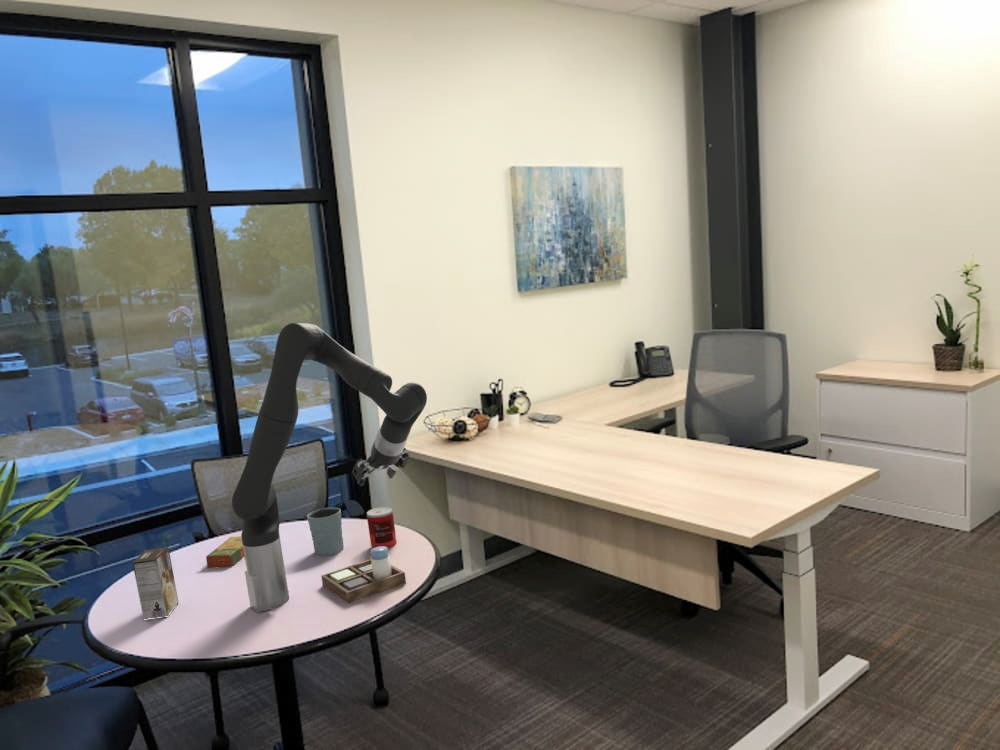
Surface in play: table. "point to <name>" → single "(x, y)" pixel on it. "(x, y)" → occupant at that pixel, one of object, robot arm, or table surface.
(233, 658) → the table surface
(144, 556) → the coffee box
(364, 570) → the grey rectangular block
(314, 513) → the green cup
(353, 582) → the eraser
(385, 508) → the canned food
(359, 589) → the organizer
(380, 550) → the glue stick
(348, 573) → the note block
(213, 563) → the carton
